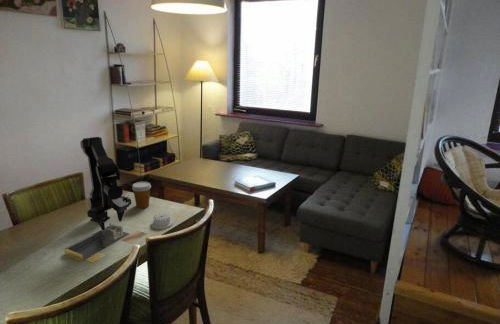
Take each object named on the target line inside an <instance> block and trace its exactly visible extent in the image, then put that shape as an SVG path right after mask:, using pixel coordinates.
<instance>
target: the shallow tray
mask: <svg viewBox="0 0 500 324" xmlns="http://www.w3.org/2000/svg"><path fill="white" fill-rule="evenodd" d="M105 227H106V226H105ZM106 228H109V225H108V226H107V227H106ZM128 235H130V233H129V232H126V231H123V237H121V238H119V239H117V240H116V241H112V240H109V239H106V238H104V237H102V229H99V230H98V231H96V232H95V233H93V234H90V235H88V236H86V237H85V238H82V239H80V240H78V241H76V242H74V243H72V244H70V245H68V246H66V247H65V248H64V250H63V251H64V256H65V257H67V258H70V259H72V260H75V261H77V262H79V263H81V262H83V261H86V259H88V258H89V257H91V256H93V255H95V254H96V253H100V252H101V251H102V250H104V249H106V248H107V247H109V246H111V245H113V244H115V243H116V242H119V241H121V239H123V238H125V237H127V236H128Z"/></svg>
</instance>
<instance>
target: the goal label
mask: <svg viewBox="0 0 500 324" xmlns="http://www.w3.org/2000/svg"><path fill="white" fill-rule="evenodd" d="M105 256H106V254H103V253H101V252H97V253H95V254H93V255H92V256H90V257H89V258H87V259H85V261H87V262H89V263H91V264H94V263H96V262H97V261H99V260H100V259H102V258H103V257H105Z"/></svg>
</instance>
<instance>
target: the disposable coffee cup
mask: <svg viewBox="0 0 500 324" xmlns="http://www.w3.org/2000/svg"><path fill="white" fill-rule="evenodd" d="M151 188H152V185H151V182H148V181H137V182H135V183H133V184H132V187H131V189H132V191H133V196H134V201H135V205H136V208H138V209H146V208H148V207H149V206H150V197H151Z"/></svg>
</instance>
